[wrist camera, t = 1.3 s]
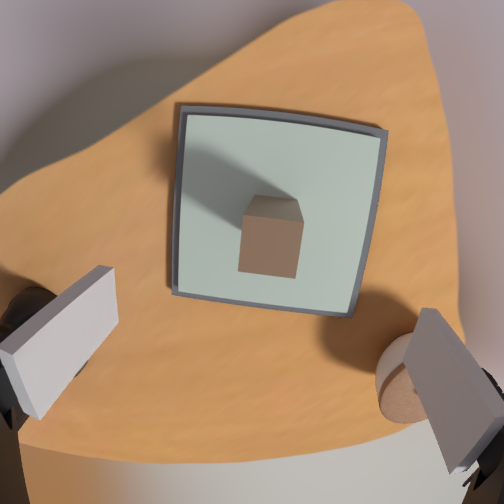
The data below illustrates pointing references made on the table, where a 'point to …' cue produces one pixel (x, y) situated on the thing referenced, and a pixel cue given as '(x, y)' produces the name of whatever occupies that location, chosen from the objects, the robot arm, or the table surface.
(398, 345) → the lidded jar
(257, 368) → the table surface
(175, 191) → the mat
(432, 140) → the table surface
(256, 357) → the table surface
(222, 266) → the lid
